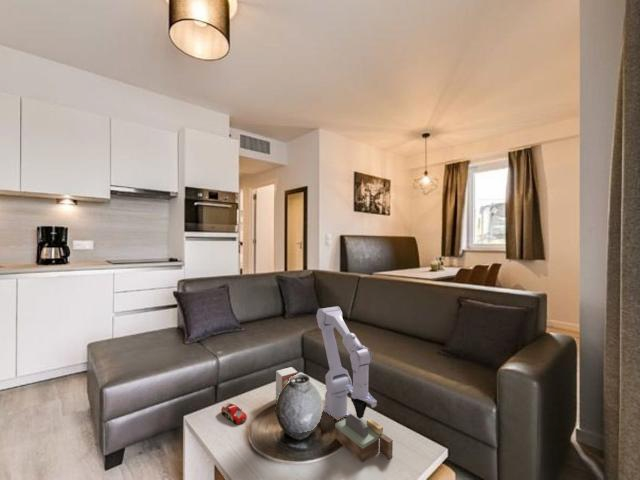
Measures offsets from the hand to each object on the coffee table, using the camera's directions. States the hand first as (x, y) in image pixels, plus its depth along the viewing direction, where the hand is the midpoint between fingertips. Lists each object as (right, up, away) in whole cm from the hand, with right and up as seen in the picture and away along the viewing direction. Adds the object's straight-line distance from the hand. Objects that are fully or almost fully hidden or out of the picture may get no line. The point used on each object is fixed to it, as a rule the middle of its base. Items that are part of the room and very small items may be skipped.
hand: (360, 417), depth 113 cm
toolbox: (0, -7, -7) cm, 9 cm away
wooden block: (+4, -1, -6) cm, 7 cm away
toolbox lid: (-2, -3, -6) cm, 7 cm away
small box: (-30, -6, +24) cm, 39 cm away
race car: (-50, -7, +11) cm, 52 cm away
